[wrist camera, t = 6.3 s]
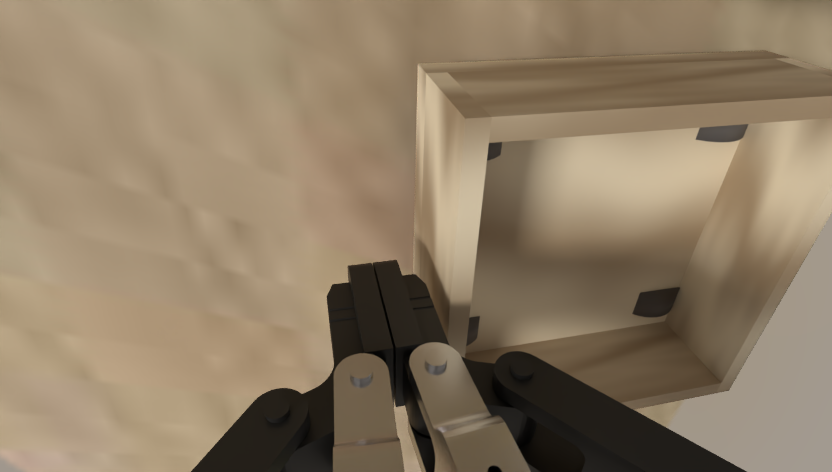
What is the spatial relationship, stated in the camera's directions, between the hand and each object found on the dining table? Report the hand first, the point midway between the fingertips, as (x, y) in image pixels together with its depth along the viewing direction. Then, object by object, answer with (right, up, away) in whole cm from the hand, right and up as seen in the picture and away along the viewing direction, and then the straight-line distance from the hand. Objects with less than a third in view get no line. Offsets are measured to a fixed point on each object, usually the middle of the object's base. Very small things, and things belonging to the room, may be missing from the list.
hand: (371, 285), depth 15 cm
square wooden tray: (+7, +3, +5) cm, 9 cm away
